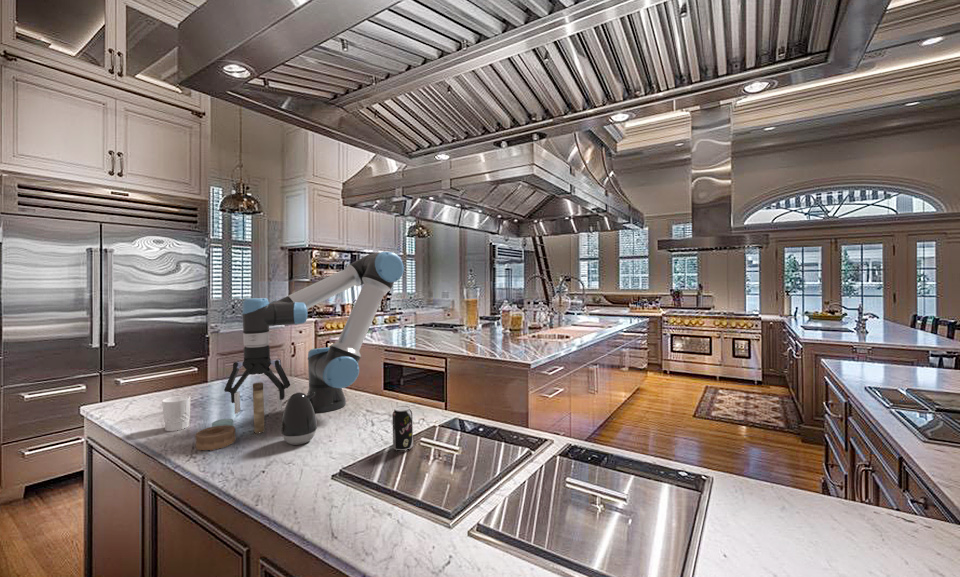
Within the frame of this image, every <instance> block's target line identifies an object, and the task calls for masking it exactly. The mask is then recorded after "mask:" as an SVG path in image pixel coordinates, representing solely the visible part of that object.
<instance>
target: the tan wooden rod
mask: <svg viewBox="0 0 960 577" xmlns="http://www.w3.org/2000/svg"><path fill="white" fill-rule="evenodd" d="M252 397H253V400H252V403H253V407H252V408H253V430H254V431H253V433H254V432H255V433H259V432H263V431H264V432H266V431H265V429H266V428H265V405H264V404H265V401H264V382H254V383H253V384H252ZM264 432H263V433H264ZM255 433H254V434H255ZM259 434H260V433H259Z"/></svg>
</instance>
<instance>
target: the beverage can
mask: <svg viewBox="0 0 960 577" xmlns="http://www.w3.org/2000/svg"><path fill="white" fill-rule="evenodd" d="M391 419H392V447H393V450H396V451H397V450H407V449H409V450H410V449H412V447H413V446H414V434H413V433H414V432H413V431H414V429H413V424H414V423H413V412H412V410H411V407H410V406H408V405H399V406H396V407H394V410H393V412H392V418H391ZM407 451H408V450H407Z"/></svg>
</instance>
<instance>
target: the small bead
mask: <svg viewBox="0 0 960 577" xmlns="http://www.w3.org/2000/svg"><path fill="white" fill-rule="evenodd" d="M222 425H229V426H234V419H233V418H224V419H218V420H215V421H213V422H211V427H214V426H222Z"/></svg>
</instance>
